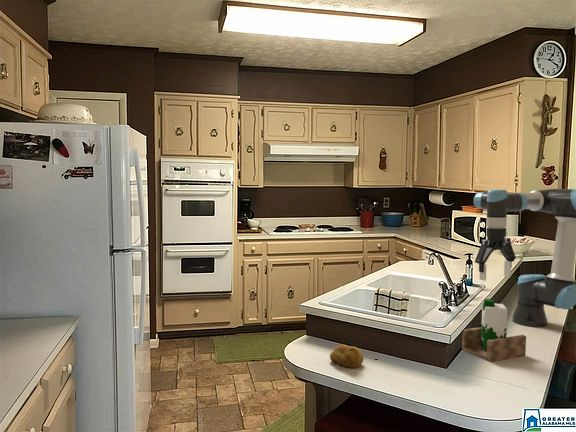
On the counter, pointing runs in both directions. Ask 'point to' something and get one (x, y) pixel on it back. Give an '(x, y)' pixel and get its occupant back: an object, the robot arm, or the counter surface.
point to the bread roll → (347, 356)
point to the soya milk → (493, 321)
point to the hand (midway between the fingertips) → (495, 278)
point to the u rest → (493, 345)
